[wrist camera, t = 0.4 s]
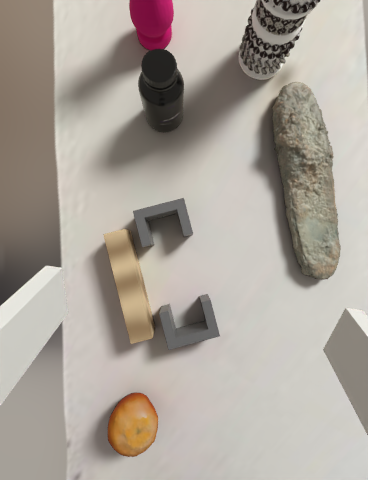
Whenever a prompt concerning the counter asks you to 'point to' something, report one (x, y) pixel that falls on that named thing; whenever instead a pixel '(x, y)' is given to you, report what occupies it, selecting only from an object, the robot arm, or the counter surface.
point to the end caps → (172, 334)
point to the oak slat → (130, 285)
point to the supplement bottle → (161, 90)
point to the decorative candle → (272, 35)
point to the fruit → (132, 425)
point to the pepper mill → (152, 22)
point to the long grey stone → (307, 179)
